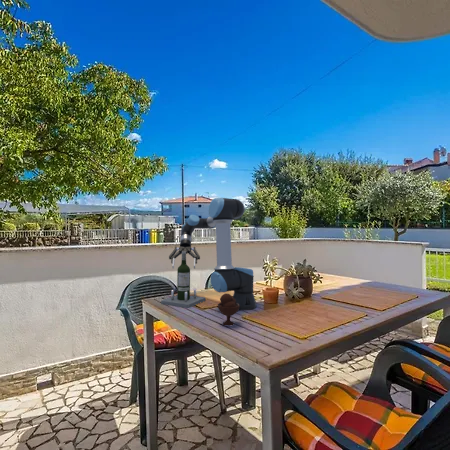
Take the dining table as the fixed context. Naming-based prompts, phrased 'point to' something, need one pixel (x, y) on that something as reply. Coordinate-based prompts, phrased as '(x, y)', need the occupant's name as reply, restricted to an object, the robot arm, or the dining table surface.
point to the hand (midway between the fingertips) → (183, 267)
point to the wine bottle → (183, 279)
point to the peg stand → (183, 303)
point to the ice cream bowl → (228, 307)
